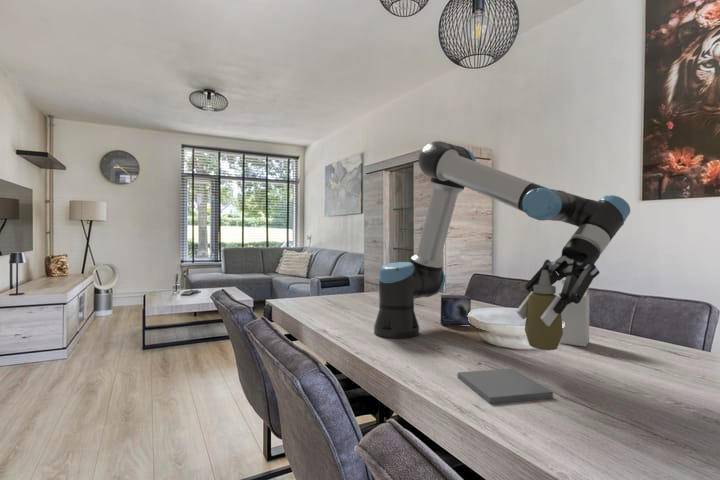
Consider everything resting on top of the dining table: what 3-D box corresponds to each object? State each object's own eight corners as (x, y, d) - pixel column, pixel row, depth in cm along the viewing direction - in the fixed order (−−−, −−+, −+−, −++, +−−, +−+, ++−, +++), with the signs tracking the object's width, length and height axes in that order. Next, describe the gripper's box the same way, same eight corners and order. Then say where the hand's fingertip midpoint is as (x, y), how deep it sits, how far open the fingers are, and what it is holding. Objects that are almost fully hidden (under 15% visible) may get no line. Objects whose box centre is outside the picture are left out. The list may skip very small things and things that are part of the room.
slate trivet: (457, 377, 89) (457, 372, 89) (512, 373, 92) (512, 368, 91) (489, 403, 75) (489, 397, 75) (552, 397, 78) (552, 391, 78)
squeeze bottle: (532, 340, 95) (534, 267, 95) (567, 347, 90) (569, 270, 89) (518, 346, 90) (520, 269, 89) (555, 355, 84) (557, 272, 84)
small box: (440, 325, 140) (441, 297, 140) (440, 321, 146) (440, 294, 146) (471, 327, 138) (471, 297, 138) (468, 322, 145) (469, 295, 145)
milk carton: (585, 347, 113) (586, 282, 113) (559, 343, 117) (559, 281, 117) (589, 342, 118) (589, 280, 118) (563, 338, 123) (563, 279, 123)
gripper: (632, 261, 86) (577, 340, 80) (558, 255, 104) (510, 319, 98) (616, 237, 84) (559, 317, 78) (544, 235, 102) (493, 300, 96)
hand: (532, 318), depth 88 cm, fingers closed on squeeze bottle, 6 cm apart
